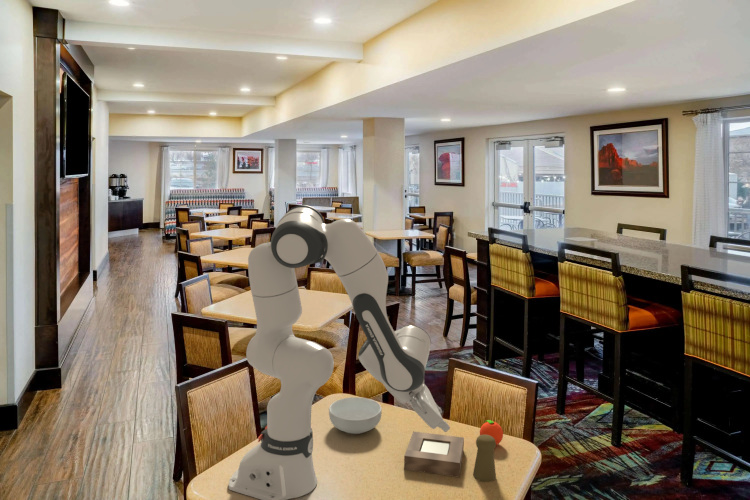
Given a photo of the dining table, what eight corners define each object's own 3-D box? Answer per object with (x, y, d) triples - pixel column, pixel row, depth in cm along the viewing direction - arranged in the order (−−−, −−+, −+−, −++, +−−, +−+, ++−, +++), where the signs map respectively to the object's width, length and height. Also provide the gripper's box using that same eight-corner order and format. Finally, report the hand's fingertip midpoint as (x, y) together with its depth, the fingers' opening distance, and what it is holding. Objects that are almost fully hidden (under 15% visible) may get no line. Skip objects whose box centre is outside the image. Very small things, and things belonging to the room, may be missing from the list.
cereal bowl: (324, 419, 178) (324, 399, 178) (373, 414, 183) (373, 394, 182) (334, 443, 162) (334, 421, 161) (387, 437, 167) (388, 416, 166)
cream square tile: (420, 455, 151) (420, 452, 151) (423, 443, 158) (424, 440, 158) (446, 459, 149) (446, 456, 149) (449, 446, 156) (449, 443, 156)
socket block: (404, 469, 148) (404, 455, 148) (412, 444, 163) (413, 431, 162) (459, 477, 145) (459, 463, 144) (463, 450, 159) (463, 437, 159)
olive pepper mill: (496, 483, 142) (497, 443, 141) (472, 480, 144) (474, 440, 142) (495, 471, 148) (497, 433, 147) (473, 468, 149) (474, 430, 148)
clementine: (473, 439, 167) (474, 416, 166) (493, 436, 169) (494, 414, 168) (486, 451, 159) (487, 428, 158) (507, 448, 161) (508, 425, 160)
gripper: (423, 392, 130) (461, 430, 132) (410, 364, 150) (444, 397, 152) (404, 411, 130) (443, 448, 132) (394, 379, 150) (428, 412, 152)
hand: (443, 420), depth 142 cm, fingers open, 8 cm apart
